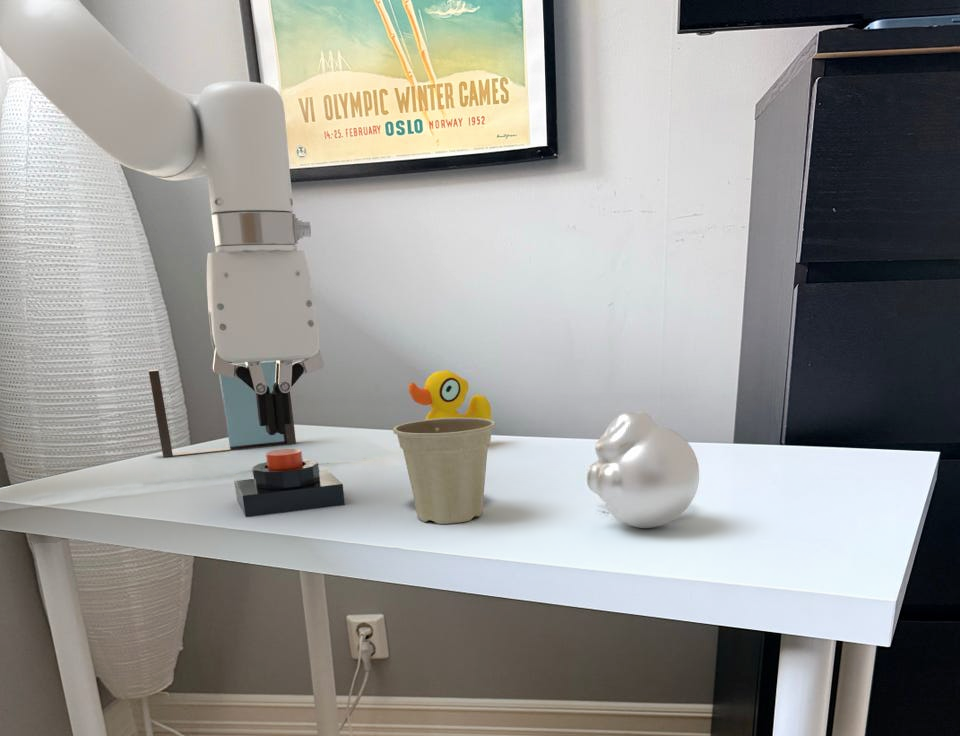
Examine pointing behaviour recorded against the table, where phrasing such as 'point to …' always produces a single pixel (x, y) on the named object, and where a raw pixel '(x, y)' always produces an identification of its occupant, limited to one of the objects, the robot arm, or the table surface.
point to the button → (284, 459)
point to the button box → (288, 490)
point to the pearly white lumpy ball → (643, 471)
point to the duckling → (449, 397)
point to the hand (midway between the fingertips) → (275, 432)
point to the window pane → (246, 409)
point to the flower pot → (446, 466)
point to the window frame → (163, 425)
